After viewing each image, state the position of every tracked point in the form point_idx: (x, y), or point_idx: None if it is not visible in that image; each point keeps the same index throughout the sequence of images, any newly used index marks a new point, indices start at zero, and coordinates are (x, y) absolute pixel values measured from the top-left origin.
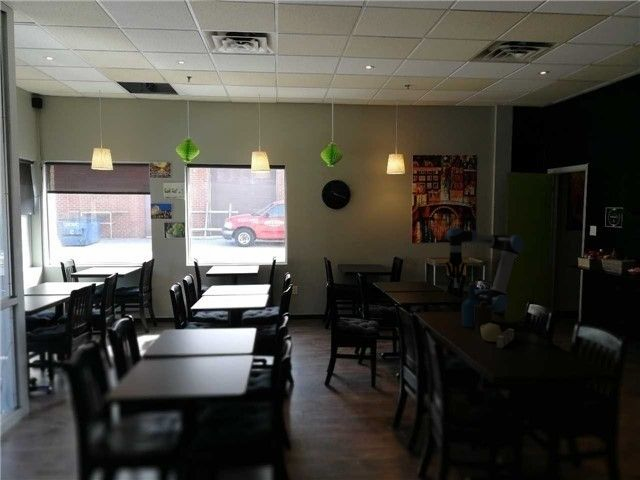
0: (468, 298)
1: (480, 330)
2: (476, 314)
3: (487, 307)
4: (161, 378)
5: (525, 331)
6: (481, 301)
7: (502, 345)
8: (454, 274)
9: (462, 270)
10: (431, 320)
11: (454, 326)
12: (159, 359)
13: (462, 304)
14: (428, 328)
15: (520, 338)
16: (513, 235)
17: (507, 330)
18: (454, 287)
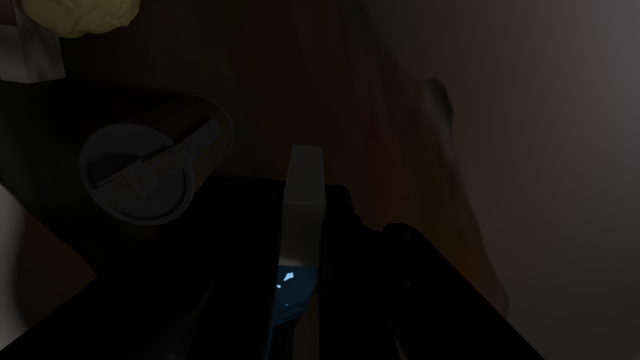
0: (275, 302)
1: (193, 98)
2: (188, 127)
3: (89, 138)
4: None
5: (63, 219)
6: (138, 199)
7: None
8: (325, 259)
9: (51, 329)
10: (452, 237)
11: (339, 180)
12: None
13: None
14: (444, 92)
15: (23, 95)
16: None
17: (2, 18)
18: (317, 148)
